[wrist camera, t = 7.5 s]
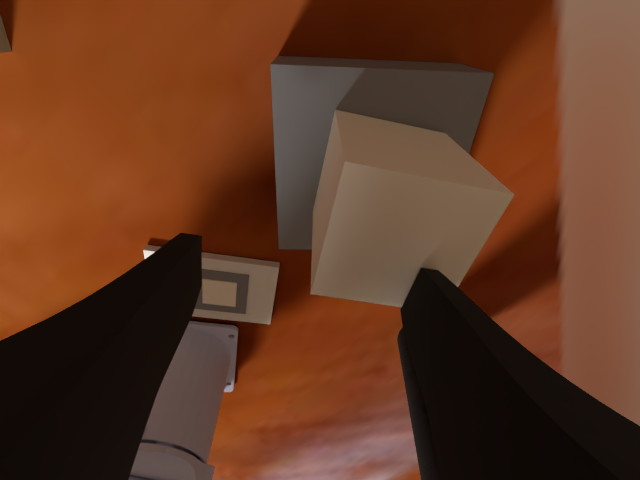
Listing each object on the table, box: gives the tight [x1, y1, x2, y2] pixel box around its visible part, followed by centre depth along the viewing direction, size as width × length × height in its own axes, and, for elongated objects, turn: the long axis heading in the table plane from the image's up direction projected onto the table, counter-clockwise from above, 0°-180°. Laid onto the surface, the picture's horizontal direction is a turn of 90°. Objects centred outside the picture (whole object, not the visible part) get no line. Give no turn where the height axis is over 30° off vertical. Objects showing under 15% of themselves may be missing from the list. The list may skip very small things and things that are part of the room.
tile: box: [143, 245, 280, 324], centre depth 23 cm, size 6×9×1 cm, turn 79°
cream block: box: [311, 110, 514, 307], centre depth 13 cm, size 5×5×6 cm
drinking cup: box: [397, 328, 440, 480], centre depth 20 cm, size 8×8×20 cm
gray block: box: [271, 56, 494, 250], centre depth 17 cm, size 9×9×4 cm
